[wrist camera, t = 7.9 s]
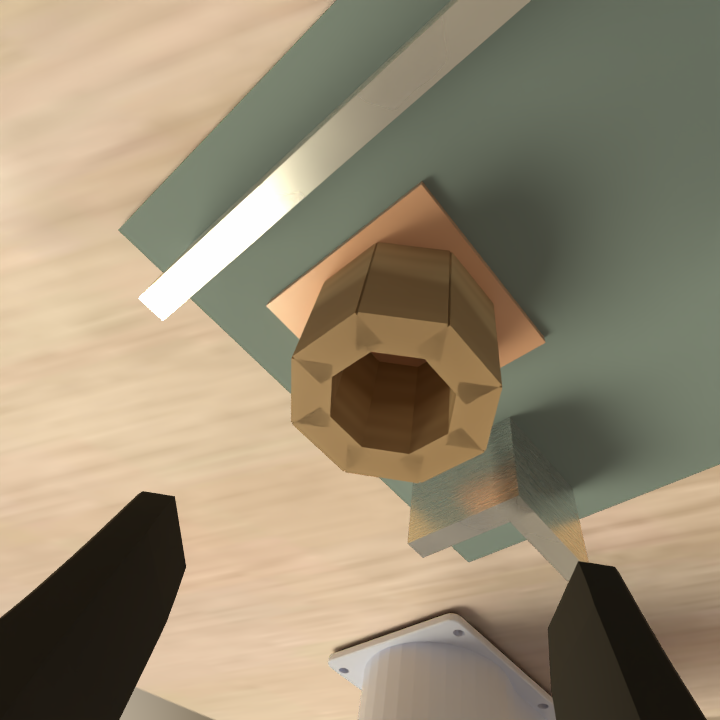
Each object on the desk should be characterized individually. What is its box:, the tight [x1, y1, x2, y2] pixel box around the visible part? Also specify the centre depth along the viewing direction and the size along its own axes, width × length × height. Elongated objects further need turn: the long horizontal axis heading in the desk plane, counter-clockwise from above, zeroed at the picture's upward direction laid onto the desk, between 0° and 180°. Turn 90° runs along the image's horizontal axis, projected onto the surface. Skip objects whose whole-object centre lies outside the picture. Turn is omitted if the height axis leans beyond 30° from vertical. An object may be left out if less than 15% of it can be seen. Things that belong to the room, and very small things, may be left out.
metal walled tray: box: [139, 0, 589, 581], centre depth 15 cm, size 15×15×4 cm
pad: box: [266, 181, 546, 368], centre depth 18 cm, size 6×6×1 cm
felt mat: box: [119, 0, 720, 562], centre depth 17 cm, size 18×18×1 cm
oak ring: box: [291, 242, 502, 483], centre depth 16 cm, size 5×5×4 cm
